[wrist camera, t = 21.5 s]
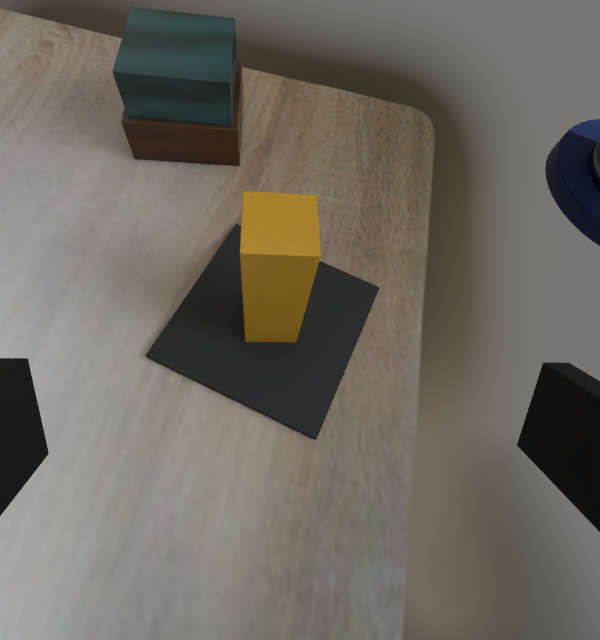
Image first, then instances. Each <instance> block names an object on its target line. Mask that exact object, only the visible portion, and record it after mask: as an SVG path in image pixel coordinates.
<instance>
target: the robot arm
mask: <svg viewBox="0 0 600 640" xmlns="http://www.w3.org/2000/svg"><path fill="white" fill-rule="evenodd" d="M588 164H589V170H590V173H591V176H592V178H593V180H594V182H595V184H596V185H597V187H598V188H599V190H600V141H599V142H598V143H597V144H596V145H595V146H594V148H593V149H592V150H591V152H590V154H589V159H588ZM517 446H518V447H519V448H520V449H521V450H522V451H523V452H524V453H525V454H526V455H527V456H528V457H529V458H530V459H531V460H532V461H533V462H534V463H535V465H537V467H538V468H539V469H540V470H541V471H543V473H544V474H545V475H546V476H547V477H548V478H549V479H550V480H551V481H552V482H553V483H554V484H555V485H556V487H557V488H558V489H559V490H560V491H561V492H562V493H563V494H564V495H565V496H566V497H567V498H568V499H569V500H570V501H571V502H572V503H573V504H574V505H575V506H576V507H577V508H578V510H579V511H580V512H581V513H582V514H583V515H584V516H585V517H586V518H587V519H588V520H589V521H590V522H591V523H592V524H593V525H594V526H595V527H596V528H597V529H598V531H600V381H598V380H597V379H595V378H593V377H592V376H590V375H588V374H587V373H585V372H583V371H582V370H580V369H578V368H577V367H575V366H573V365H571V364H570V363H543V365H542V368H541V371H540V375H539V378H538V381H537V384H536V387H535V391H534V394H533V397H532V400H531V403H530V406H529V409H528V412H527V415H526V419H525V422H524V425H523V428H522V431H521V434H520V437H519V441H518V444H517ZM48 454H49V453H48V448H47V444H46V439H45V435H44V430H43V426H42V421H41V416H40V412H39V407H38V403H37V398H36V394H35V389H34V385H33V380H32V376H31V371H30V367H29V362H28V359H22V358H0V516H1V514H2V513H3V512H4V510H5V509H6V508H7V507H8V505H9V504H10V503H11V501H12V500H13V499H14V498H15V496H16V495H17V494H18V492H19V491H20V490H21V489H22V487H23V486H24V485H25V483H26V482H27V481H28V480H29V478H30V477H31V476H32V474H33V473H34V472H35V471H36V469H37V468H38V467H39V465H40V464H41V463H42V462H43V460H44V459H45V458H46V456H47V455H48Z"/></svg>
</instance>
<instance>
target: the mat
mask: <svg viewBox="0 0 600 640" xmlns="http://www.w3.org/2000/svg"><path fill="white" fill-rule="evenodd" d="M240 240H241V226H240V225H238V224H236V225H235V227H234V228H233V230H232V231H231V232H230V234H229V235H228V237H227V238H226V240H225V241H224V243H223V244H222V245H221V247H220V248H219V250H218V251H217V253H216V254H215V256H214V257H213V258H212V260H211V261H210V263H209V264H208V266H207V267H206V269H205V270H204V271H203V273H202V274H201V276H200V277H199V279H198V280H197V282H196V283H195V285H194V286H193V287H192V289H191V290H190V292H189V293H188V295H187V296H186V298H185V299H184V300H183V302H182V303H181V305H180V306H179V308H178V309H177V311H176V312H175V313H174V315H173V316H172V318H171V319H170V321H169V322H168V324H167V325H166V326H165V328H164V329H163V331H162V332H161V334H160V335H159V337H158V338H157V340H156V341H155V342H154V344H153V345H152V347H151V348H150V350H149V351H148V353H147V354H146V357H148V358H150V359H152V360H154V361H156V362H158V363H160V364H162V365H164V366H166V367H168V368H170V369H172V370H174V371H176V372H178V373H180V374H182V375H184V376H187V377H189V378H191V379H193V380H195V381H197V382H199V383H201V384H203V385H205V386H207V387H209V388H211V389H213V390H215V391H217V392H219V393H221V394H223V395H225V396H227V397H229V398H231V399H234V400H236V401H238V402H240V403H242V404H244V405H246V406H248V407H250V408H252V409H254V410H256V411H258V412H260V413H262V414H264V415H266V416H268V417H270V418H272V419H274V420H276V421H279V422H281V423H283V424H285V425H287V426H289V427H291V428H293V429H295V430H297V431H299V432H301V433H303V434H305V435H307V436H309V437H311V438H313V439H317V436H318V434H319V431H320V429H321V427H322V424H323V422H324V419H325V417H326V415H327V412H328V410H329V407H330V405H331V403H332V400H333V398H334V395H335V393H336V391H337V388H338V386H339V383H340V381H341V379H342V376H343V374H344V371H345V369H346V367H347V364H348V362H349V359H350V357H351V355H352V352H353V350H354V347H355V345H356V343H357V340H358V338H359V335H360V333H361V331H362V328H363V326H364V323H365V321H366V319H367V316H368V314H369V311H370V309H371V307H372V304H373V302H374V299H375V297H376V295H377V292H378V290H379V287H377V286H374V285H372V284H370V283H368V282H366V281H363V280H361V279H359V278H357V277H354V276H352V275H350V274H348V273H345V272H343V271H341V270H339V269H336V268H334V267H332V266H330V265H327V264H325V263H323V262H321V261H319V264H318V267H317V271H316V274H315V278H314V281H313V285H312V288H311V292H310V295H309V299H308V303H307V306H306V310H305V313H304V317H303V320H302V324H301V327H300V331H299V334H298V338H297V341H296V343H290V342H245V329H244V313H243V296H242V280H241V263H240Z"/></svg>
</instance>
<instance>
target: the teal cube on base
mask: <svg viewBox="0 0 600 640" xmlns="http://www.w3.org/2000/svg"><path fill="white" fill-rule="evenodd" d="M235 37H236V36H235V19H234V18H225V17H216V16H207V15H198V14H189V13H180V12H171V11H161V10H153V9H144V8H135V7H131V9H130V13H129V16H128V20H127V24H126V27H125V30H124V34H123V37H122V41H121V44H120V48H119V51H118V55H117V58H116V62H115V65H114V69H113V74H114V77H115V80H116V83H117V86H118V89H119V92H120V95H121V98H122V101H123V104H124V107H125V109H124V113H123V117H122V121H121V122H122V125H123V128H124V131H125V134H126V136H127V139H128V142H129V145H130V147H131V150H132V153H133V156H134V158H135V159H148V160H163V161H178V162H193V163H208V164H223V165H237V166H239V162H240V144H241V126H242V108H243V82H242V62H241V61H237V60H236V38H235Z"/></svg>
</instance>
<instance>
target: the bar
mask: <svg viewBox="0 0 600 640" xmlns="http://www.w3.org/2000/svg"><path fill="white" fill-rule="evenodd" d="M320 257H321V255H320V238H319V221H318V204H317V195H304V194H287V193H270V192H254V191H243V198H242V219H241V240H240V263H241V280H242V296H243V313H244V329H245V342H290V343H296V341H297V338H298V334H299V331H300V327H301V324H302V320H303V317H304V313H305V310H306V306H307V303H308V299H309V295H310V292H311V288H312V285H313V281H314V278H315V274H316V271H317V267H318V264H319V260H320Z"/></svg>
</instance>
